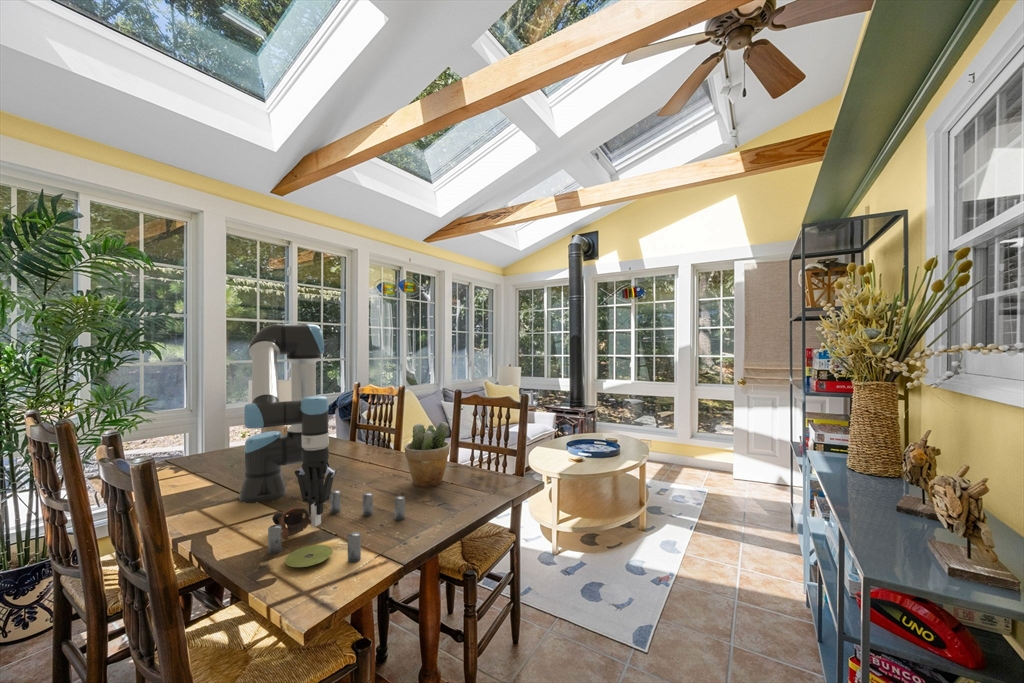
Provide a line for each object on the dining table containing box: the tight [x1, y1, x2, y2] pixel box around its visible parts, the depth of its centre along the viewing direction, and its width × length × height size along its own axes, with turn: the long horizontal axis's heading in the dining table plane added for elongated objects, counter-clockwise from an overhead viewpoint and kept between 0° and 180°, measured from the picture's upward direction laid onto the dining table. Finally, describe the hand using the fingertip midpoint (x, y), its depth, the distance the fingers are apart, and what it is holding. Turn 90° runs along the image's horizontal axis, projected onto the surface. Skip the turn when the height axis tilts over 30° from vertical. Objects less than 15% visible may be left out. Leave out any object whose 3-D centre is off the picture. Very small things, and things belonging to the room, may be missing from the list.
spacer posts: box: [267, 489, 406, 564], centre depth 125 cm, size 27×30×7 cm
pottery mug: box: [272, 506, 312, 540], centre depth 125 cm, size 12×9×8 cm
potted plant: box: [403, 421, 451, 488], centre depth 169 cm, size 18×19×25 cm
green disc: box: [284, 544, 334, 568], centre depth 109 cm, size 11×11×2 cm
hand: (316, 524), depth 126 cm, fingers closed
